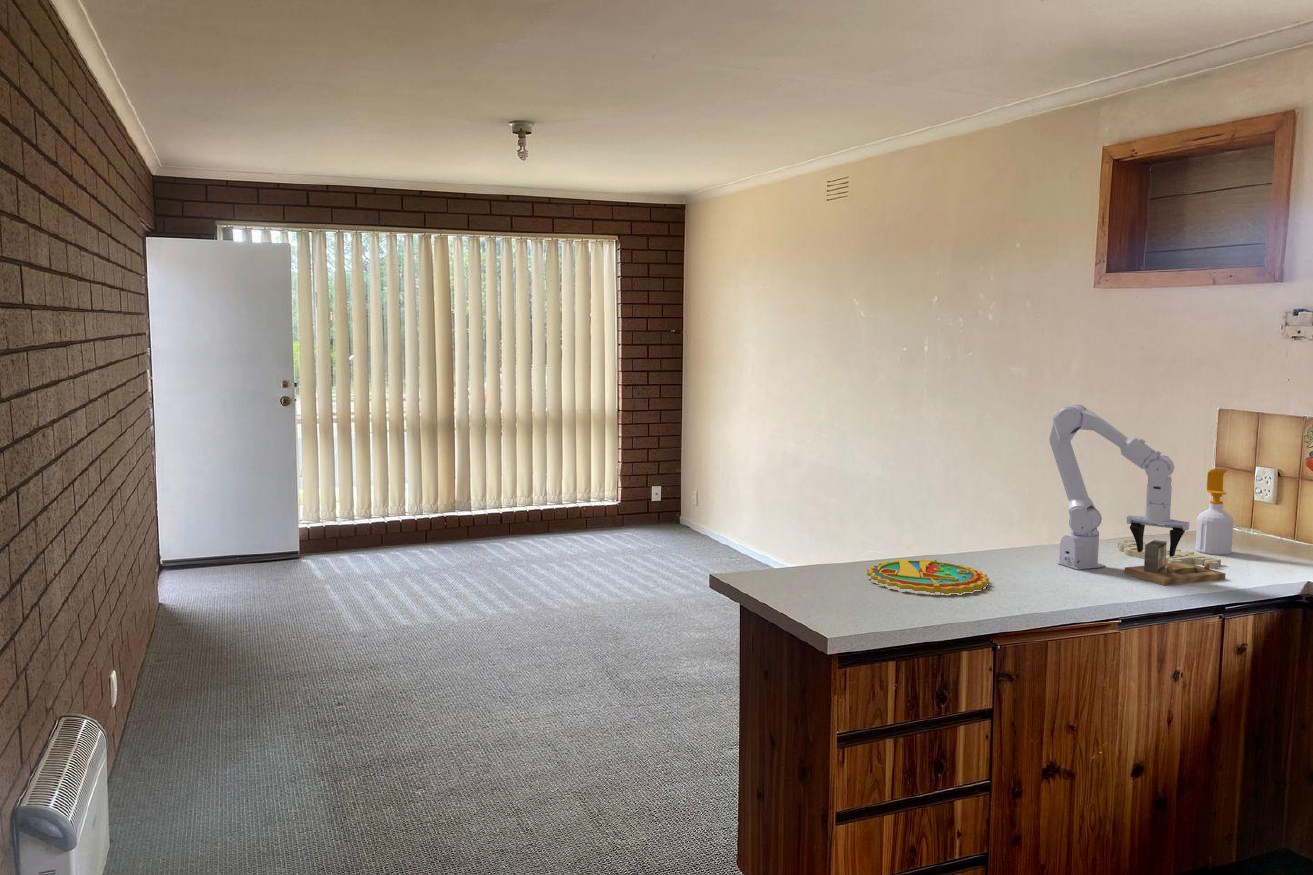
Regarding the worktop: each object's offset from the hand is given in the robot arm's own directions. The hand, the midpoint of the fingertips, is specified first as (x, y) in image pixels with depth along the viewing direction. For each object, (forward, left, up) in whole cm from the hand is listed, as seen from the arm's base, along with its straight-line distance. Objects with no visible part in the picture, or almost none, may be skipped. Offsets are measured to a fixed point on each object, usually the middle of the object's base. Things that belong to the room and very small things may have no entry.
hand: (1155, 553), depth 250 cm
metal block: (0, 0, -4) cm, 4 cm away
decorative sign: (+18, +16, -6) cm, 25 cm away
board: (+4, -2, -6) cm, 7 cm away
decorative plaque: (-60, +14, -6) cm, 62 cm away
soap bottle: (+38, +17, -6) cm, 42 cm away
